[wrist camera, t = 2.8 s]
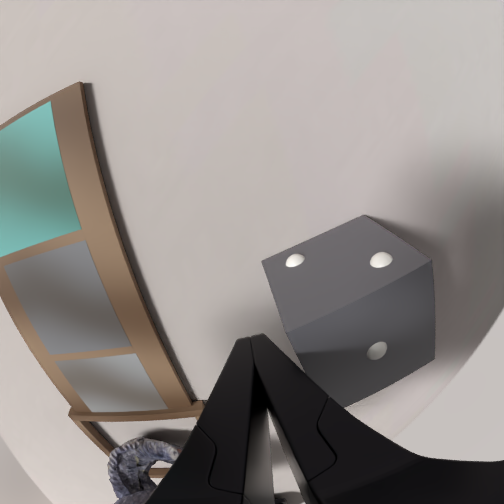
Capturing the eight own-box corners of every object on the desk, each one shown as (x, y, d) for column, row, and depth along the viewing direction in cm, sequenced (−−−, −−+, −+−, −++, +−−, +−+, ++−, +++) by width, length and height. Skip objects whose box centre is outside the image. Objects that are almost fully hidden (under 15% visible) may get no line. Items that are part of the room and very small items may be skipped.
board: (197, 410, 13) (197, 415, 13) (84, 416, 13) (82, 420, 12) (82, 82, 7) (79, 81, 7) (-40, 157, 7) (-44, 159, 7)
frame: (238, 465, 16) (239, 472, 15) (132, 470, 16) (131, 476, 15) (202, 400, 13) (202, 409, 12) (70, 407, 12) (67, 415, 12)
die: (387, 297, 11) (442, 359, 8) (298, 340, 12) (328, 419, 8) (367, 207, 10) (441, 253, 6) (259, 256, 10) (284, 332, 6)
